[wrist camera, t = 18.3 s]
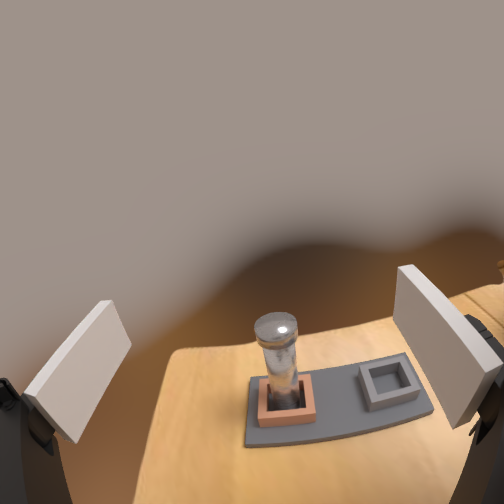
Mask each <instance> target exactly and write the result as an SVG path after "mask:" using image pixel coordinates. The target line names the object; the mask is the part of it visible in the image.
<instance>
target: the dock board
mask: <svg viewBox="0 0 504 504" xmlns="http://www.w3.org/2000/svg"><path fill="white" fill-rule="evenodd" d="M298 381H299V392H300V403H301V405H300V408H299V409H291V410H281V411H276V410H275V408H274V403H273V398H272V393H271V387H270V382H269V377H268V376H256V377H251V378H250V391H249V403H248V415H247V427H246V439H245V445H246V448H258V447H277V446H290V445H300V444H308V443H316V442H323V441H329V440H335V439H341V438H346V437H351V436H356V435H361V434H365V433H369V432H373V431H377V430H381V429H385V428H389V427H392V426H396V425H399V424H402V423H406V422H409V421H412V420H415V419H418V418H421V417H424V416H426V415H429V414H432V413H433V411H434V407H433V405H432V403H431V401H430V399H429V397H428V395H427V393H426V391H425V389H424V387H423V385H422V383H421V381H420V379H419V377H418V375H417V373H416V371H415V370H414V368H413V366H412V364H411V362H410V360H409V358H408V356H407V355H406V353H405V352H404V353H400V354H396V355H392V356H388V357H384V358H379V359H375V360H370V361H365V362H360V363H355V364H350V365H344V366H339V367H333V368H326V369H320V370H313V371H306V372H298Z"/></svg>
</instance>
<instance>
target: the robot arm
mask: <svg viewBox="0 0 504 504" xmlns="http://www.w3.org/2000/svg"><path fill="white" fill-rule="evenodd" d="M393 321H394V322H395V324H396V325H397V327H398V329H399V330H400V332H401V334H402V335H403V337H404V339H405V340H406V342H407V344H408V345H409V347H410V349H411V351H412V352H413V354H414V356H415V358H416V359H417V361H418V363H419V365H420V366H421V368H422V370H423V372H424V374H425V375H426V377H427V379H428V381H429V383H430V385H431V387H432V389H433V391H434V392H435V394H436V396H437V398H438V400H439V402H440V404H441V406H442V408H443V410H444V412H445V414H446V416H447V419H448V421H449V423H450V425H451V427H452V429H455V428H457V427H459V426H461V425H463V424H465V423H467V422H470V421H471V419H472V418H473V416H474V415H475V413H476V411H478V413H479V415H480V418H479V420H478V421H477V423H476V424H475V425H474V427H473V428H472V430H471V431H470V433H469V436H471V435H472V434H473V432H474V431H475V434H474V437H473V441H472V444H471V447H470V451H469V454H468V457H467V460H466V463H465V466H464V468H463V471H462V474H461V476H460V479H459V481H458V484H457V486H456V488H455V491H454V493H453V495H452V498H451V500H450V502H449V504H504V347H503V346H502V345H501V344H500V343H499V342H498V340H497V339H496V338H495V337H493V335H492V334H491V332H490V331H489V330H488V331H487V328H486V327H485V326H484V325H483V324H482V323H481V321H480V320H478V319H476V318H475V317H473V316H471V315H469V314H468V315H465V316H463V315H462V314H461V313H460V311H459V310H458V309H457V308H456V307H455V306H454V305H453V304H452V303H451V302H450V301H449V300H448V299H447V298H446V297H445V296H444V295H443V294H442V293H441V292H440V291H439V290H438V289H437V288H436V286H434V285H433V284H432V283H431V282H430V281H429V280H428V279H427V278H426V277H425V276H424V275H423V274H422V273H421V272H420V271H419V270H418V269H417V268H416V267H415V266H414V265H407V266H401V267H398V274H397V286H396V297H395V306H394V314H393ZM131 345H132V344H131V342H130V340H129V338H128V336H127V334H126V332H125V329H124V327H123V325H122V323H121V320H120V318H119V316H118V313H117V311H116V308H115V306H114V304H113V301H112V300H109V301H108V300H107V301H100V302H99V303H98V304H97V305H96V306H95V307H94V309H93V310H92V311H91V312H90V313H89V314H88V315H87V316H86V318H84V319H83V321H82V322H81V323H80V324H79V325H78V326H77V327H76V329H75V330H74V331H73V332H72V333H71V334H70V335H69V337H68V338H67V339H66V340H65V341H64V342H63V344H62V345H61V346H60V347H59V348H58V350H57V351H56V352H55V353H54V354H53V356H52V357H51V358H50V359H49V360H48V361H47V363H46V364H45V365H44V366H43V368H42V369H41V370H40V371H39V373H38V374H37V375H36V376H35V378H34V379H33V380H32V382H31V383H30V384H29V386H28V387H27V388H26V389H25V391H24V392H23V394H22V395H21V396H19V394H18V393H17V392H16V390H15V389H14V388H13V386H12V385H11V383H10V382H9V381H8V380H7V379H6V378H0V504H73V503H72V500H71V497H70V494H69V490H68V487H67V483H66V479H65V475H64V471H63V467H62V462H61V457H60V452H59V447H58V441H57V439H56V437H55V436H54V435H53V434H54V432H55V430H56V431H57V433H58V434H59V435H60V436H61V437H62V438H63V439H65V440H67V441H70V442H73V443H77V442H78V440H79V438H80V436H81V434H82V432H83V430H84V428H85V427H86V425H87V423H88V421H89V419H90V417H91V415H92V413H93V411H94V410H95V408H96V406H97V404H98V402H99V401H100V399H101V397H102V395H103V393H104V391H105V390H106V388H107V386H108V384H109V383H110V381H111V379H112V377H113V376H114V374H115V372H116V371H117V369H118V367H119V365H120V364H121V362H122V360H123V359H124V357H125V355H126V354H127V352H128V350H129V348H130V347H131Z"/></svg>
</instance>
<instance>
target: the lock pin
mask: <svg viewBox="0 0 504 504" xmlns="http://www.w3.org/2000/svg"><path fill="white" fill-rule="evenodd" d="M254 328H255V333H256V338H257V342H258V344H259V345H260V346H261V347H263V352H264V357H265V362H266V367H267V372H268V377H269V382H270V387H271V393H272V398H273V403H274V408H275V410H276V411H281V410H291V409H299V408H300V405H301V403H300V392H299V381H298V370H297V360H296V351H295V341H296V340H297V338H298V330H297V321H296V318H295V317H294V316H293V315H291V314H289V313H285V312H274V313H269V314H267V315H264V316H262V317H260V318H259V319H258V320H257V321H256V323H255V326H254Z"/></svg>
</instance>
